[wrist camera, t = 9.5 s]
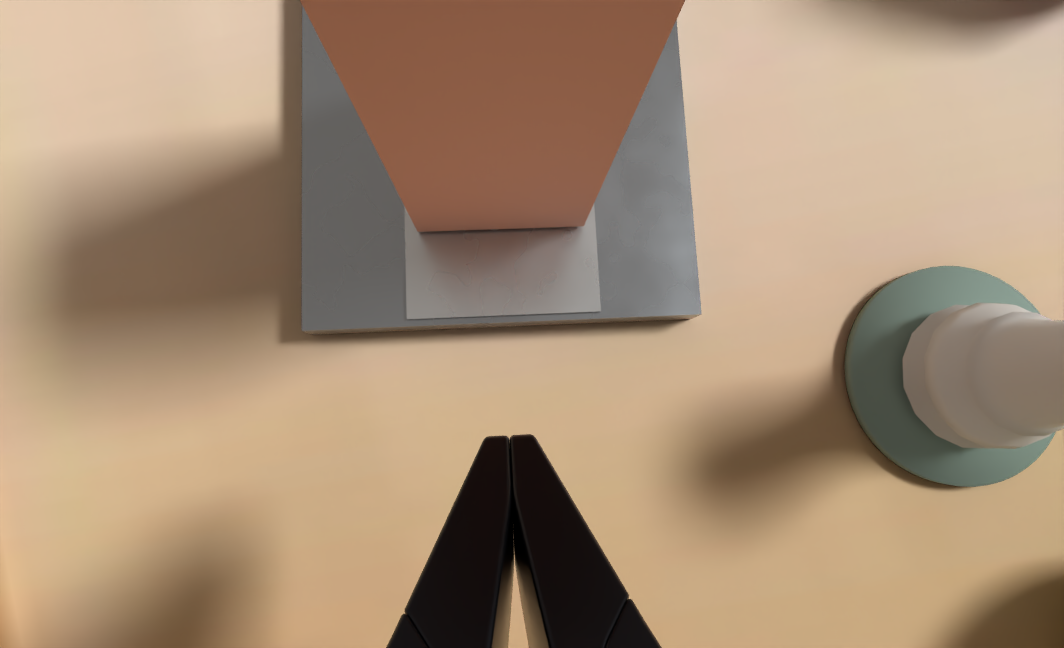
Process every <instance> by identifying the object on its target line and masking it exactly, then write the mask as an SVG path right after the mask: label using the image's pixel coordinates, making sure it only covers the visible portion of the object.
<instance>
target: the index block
mask: <svg viewBox="0 0 1064 648" xmlns="http://www.w3.org/2000/svg"><path fill="white" fill-rule="evenodd" d="M300 1H301V3H302V5H303V7H304V9H305V11H306V13H307V15H308V17H309V19H310V21H311V23H312V25H313V27H314V29H315V31H316V33H317V35H318V37H319V39H320V41H321V43H322V45H323V47H324V48H325V50H326V52H327V54H328V56H329V58H330V60H331V62H332V64H333V66H334V68H335V70H336V72H337V74H338V76H339V78H340V80H341V82H342V84H343V86H344V88H345V90H346V92H347V94H348V96H349V98H350V100H351V102H352V104H353V106H354V108H355V109H356V111H357V113H358V115H359V117H360V119H361V121H362V123H363V125H364V127H365V129H366V131H367V133H368V135H369V137H370V139H371V141H372V143H373V145H374V147H375V149H376V151H377V153H378V155H379V157H380V159H381V161H382V163H383V165H384V167H385V169H386V171H387V172H388V174H389V176H390V178H391V180H392V182H393V184H394V186H395V188H396V190H397V192H398V194H399V196H400V198H401V200H402V202H403V204H404V206H405V208H406V210H407V212H408V214H409V216H410V218H411V220H412V222H413V224H414V226H415V228H416V230H417V232H428V231H458V230H488V229H518V228H548V227H578V226H584V225H585V222H586V220H587V218H588V216H589V213H590V211H591V209H592V207H593V205H594V202H595V200H596V198H597V196H598V193H599V191H600V189H601V187H602V184H603V182H604V180H605V178H606V176H607V173H608V171H609V169H610V167H611V164H612V162H613V160H614V158H615V155H616V153H617V151H618V149H619V147H620V144H621V142H622V140H623V138H624V135H625V133H626V131H627V129H628V127H629V124H630V122H631V120H632V118H633V115H634V113H635V111H636V109H637V106H638V104H639V102H640V100H641V98H642V95H643V93H644V91H645V89H646V86H647V84H648V82H649V80H650V77H651V75H652V73H653V71H654V69H655V66H656V64H657V62H658V60H659V57H660V55H661V53H662V51H663V49H664V46H665V44H666V42H667V40H668V37H669V35H670V33H671V31H672V28H673V26H674V24H675V22H676V20H677V17H678V15H679V13H680V11H681V8H682V6H683V4H684V2H685V0H300Z"/></svg>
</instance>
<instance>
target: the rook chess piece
mask: <svg viewBox="0 0 1064 648" xmlns="http://www.w3.org/2000/svg"><path fill="white" fill-rule="evenodd" d="M902 360H903V386H904V389H905V392H906V394H907V396H908V399H909V401H910V403H911V406H912V408H913V410H914V412H915V414H916V416H917V417H918V418H919V419H920V420H921V421H922V422H923V423H924V424H925V425H926V426H927V427H928V428H929V429H930V430H931V431H932V432H933V433H934V434H935V435H936V436H938V437H940V438H943V439H945V440H947V441H949V442H951V443H954V444H956V445H958V446H960V447H962V448H987V449H991V448H1004V449H1016V448H1020V447H1024V446H1027V445H1029V444H1032V443H1034V442H1036V441H1039V440H1041V439H1044V438H1046V437H1049V436H1050V435H1051V434H1052V433H1054V432H1056V431H1059V430H1061V429H1064V321H1055V320H1052V319H1049V318H1047V317H1045V316H1043V315H1040V314H1038V313H1034V312H1030V311H1028V310H1026V309H1023V308H1021V307H1019V306H1017V305H1011V304H1001V303H975V304H973V305H953V306H951V307H948V308H946V309H943V310H940V311H938V312H935V313H933V314H930V315H929V316H928V317H927V318H926V319H925V320H924V322H923V323H922V324H921V325H920V326H919V327H918V328H917V329H916V330H915V331H914V332H913V333H912V335H911V337H910V340H909V343H908V345H907V348H906V351H905V353H904V356H903V359H902Z"/></svg>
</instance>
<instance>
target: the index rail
mask: <svg viewBox="0 0 1064 648" xmlns="http://www.w3.org/2000/svg"><path fill="white" fill-rule="evenodd" d="M699 315H701V303H700V291H699V279H698V268H697V256H696V244H695V232H694V221H693V209H692V197H691V185H690V174H689V162H688V150H687V139H686V127H685V115H684V103H683V92H682V80H681V68H680V56H679V45H678V33H677V21H676V22H675V24H674V26H673V28H672V31H671V33H670V35H669V37H668V40H667V42H666V44H665V46H664V49H663V51H662V53H661V55H660V57H659V60H658V62H657V64H656V66H655V69H654V71H653V73H652V75H651V77H650V80H649V82H648V84H647V86H646V89H645V91H644V93H643V95H642V98H641V100H640V102H639V104H638V106H637V109H636V111H635V113H634V115H633V118H632V120H631V122H630V124H629V127H628V129H627V131H626V133H625V135H624V138H623V140H622V142H621V144H620V147H619V149H618V151H617V153H616V155H615V158H614V160H613V162H612V164H611V167H610V169H609V171H608V173H607V176H606V178H605V180H604V182H603V184H602V187H601V189H600V191H599V193H598V196H597V198H596V200H595V202H594V205H593V207H592V209H591V211H590V213H589V216H588V218H587V220H586V222H585V225H584V226H578V227H548V228H518V229H488V230H458V231H428V232H417V230H416V228H415V226H414V224H413V222H412V220H411V218H410V216H409V214H408V212H407V210H406V208H405V206H404V204H403V202H402V200H401V198H400V196H399V194H398V192H397V190H396V188H395V186H394V184H393V182H392V180H391V178H390V176H389V174H388V172H387V171H386V169H385V167H384V165H383V163H382V161H381V159H380V157H379V155H378V153H377V151H376V149H375V147H374V145H373V143H372V141H371V139H370V137H369V135H368V133H367V131H366V129H365V127H364V125H363V123H362V121H361V119H360V117H359V115H358V113H357V111H356V109H355V108H354V106H353V104H352V102H351V100H350V98H349V96H348V94H347V92H346V90H345V88H344V86H343V84H342V82H341V80H340V78H339V76H338V74H337V72H336V70H335V68H334V66H333V64H332V62H331V60H330V58H329V56H328V54H327V52H326V50H325V48H324V47H323V45H322V43H321V41H320V39H319V37H318V35H317V33H316V31H315V29H314V27H313V25H312V23H311V21H310V19H309V17H308V15H307V13H306V11H305V9H304V7H303V5H302V331H303V332H306V333H309V334H312V335H316V334H340V333H364V332H388V331H412V330H436V329H460V328H484V327H508V326H532V325H556V324H580V323H604V322H628V321H652V320H676V319H692V318H694V317H697V316H699Z"/></svg>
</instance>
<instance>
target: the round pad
mask: <svg viewBox="0 0 1064 648" xmlns="http://www.w3.org/2000/svg"><path fill="white" fill-rule="evenodd" d="M975 303H1001V304H1011V305H1017V306H1019V307H1021V308H1023V309H1026V310H1028V311H1030V312H1034V313H1038V314H1040V313H1039V312H1038V311H1037V309H1036V308H1035V307H1034V306H1033V304H1032V303H1030V302H1029V301H1028V300H1027V299H1026V298H1025V297H1024V296H1023V295H1022V294H1021V293H1020V292H1018V291H1017V290H1016V289H1014V288H1013V287H1012V286H1010V285H1009V284H1007V283H1005V282H1004V281H1002V280H1000V279H999V278H996V277H994V276H992V275H990V274H987V273H985V272H981V271H978V270H975V269H971V268H965V267H959V266H939V267H931V268H926V269H922V270H918V271H915V272H912V273H909V274H906V275H904V276H901V277H899V278H897V279H895V280H893V281H892V282H890V283H888V284H886V285H885V286H884V287H882V288H881V289H880V290H879V291H877V292H876V293H875V294H874V295H873V296H872V297H871V298H870V299H869V300H868V301H867V303H866V304H865V305H864V307H863V308H862V310H861V311H860V312H859V314H858V316H857V318H856V320H855V322H854V324H853V326H852V329H851V332H850V334H849V337H848V342H847V346H846V352H845V364H844V365H845V381H846V387H847V392H848V396H849V399H850V402H851V406H852V408H853V411H854V413H855V415H856V417H857V420H858V421H859V423H860V425H861V427H862V428H863V430H864V432H865V433H866V435H867V436H868V437H869V438H870V440H871V441H872V442H873V444H874V445H875V446H876V447H877V448H878V449H879V450H880V451H881V452H882V453H883V454H884V455H885V456H886V457H888V458H889V459H890V460H891V461H893V462H894V463H895V464H896V465H898V466H900V467H901V468H903V469H904V470H906V471H908V472H910V473H912V474H914V475H916V476H918V477H921V478H923V479H927V480H930V481H933V482H937V483H942V484H948V485H954V486H966V487H976V486H984V485H990V484H994V483H997V482H1001V481H1004V480H1006V479H1008V478H1010V477H1013V476H1015V475H1016V474H1018V473H1020V472H1021V471H1023V470H1024V469H1026V468H1027V467H1028V466H1030V465H1031V464H1032V463H1033V462H1034V461H1035V460H1037V458H1038V457H1039V456H1040V455H1041V454H1042V453H1043V452H1044V450H1045V449H1046V448H1047V446H1048V445H1049V443H1050V442H1051V440H1052V438H1053V436H1054V434H1055V432H1054V433H1052V434H1051V435H1050V436H1049V437H1046V438H1044V439H1041V440H1039V441H1036V442H1034V443H1032V444H1029V445H1027V446H1024V447H1020V448H1016V449H1004V448H991V449H987V448H962V447H960V446H958V445H956V444H954V443H951V442H949V441H947V440H945V439H943V438H940V437H938V436H936V435H935V434H934V433H933V432H932V431H931V430H930V429H929V428H928V427H927V426H926V425H925V424H924V423H923V422H922V421H921V420H920V419H919V418H918V417H917V416H916V414H915V412H914V410H913V408H912V406H911V403H910V401H909V399H908V396H907V394H906V392H905V389H904V386H903V360H902V359H903V356H904V353H905V351H906V348H907V345H908V343H909V340H910V337H911V335H912V333H913V332H914V331H915V330H916V329H917V328H918V327H919V326H920V325H921V324H922V323H923V322H924V320H925V319H926V318H927V317H928V316H929V315H930V314H933V313H935V312H938V311H940V310H943V309H946V308H948V307H951V306H953V305H973V304H975ZM1040 315H1041V314H1040Z"/></svg>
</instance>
